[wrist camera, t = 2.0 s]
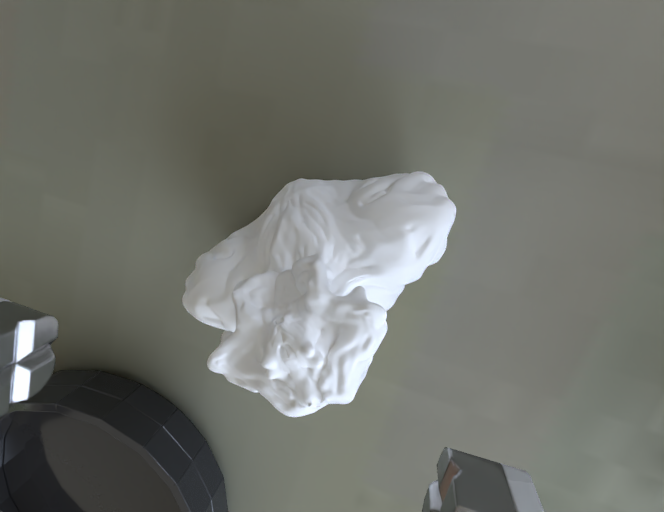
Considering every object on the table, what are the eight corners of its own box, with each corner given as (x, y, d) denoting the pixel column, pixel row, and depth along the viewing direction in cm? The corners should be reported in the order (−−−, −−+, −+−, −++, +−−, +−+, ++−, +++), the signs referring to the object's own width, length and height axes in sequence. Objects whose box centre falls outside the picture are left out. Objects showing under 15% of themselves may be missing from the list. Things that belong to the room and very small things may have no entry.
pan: (-9, 536, 30) (-68, 592, 27) (6, 332, 27) (-62, 363, 23) (205, 616, 29) (175, 687, 25) (254, 414, 25) (227, 461, 21)
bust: (240, 277, 26) (232, 492, 18) (151, 184, 20) (87, 435, 13) (445, 202, 23) (534, 418, 16) (405, 72, 18) (512, 307, 10)
